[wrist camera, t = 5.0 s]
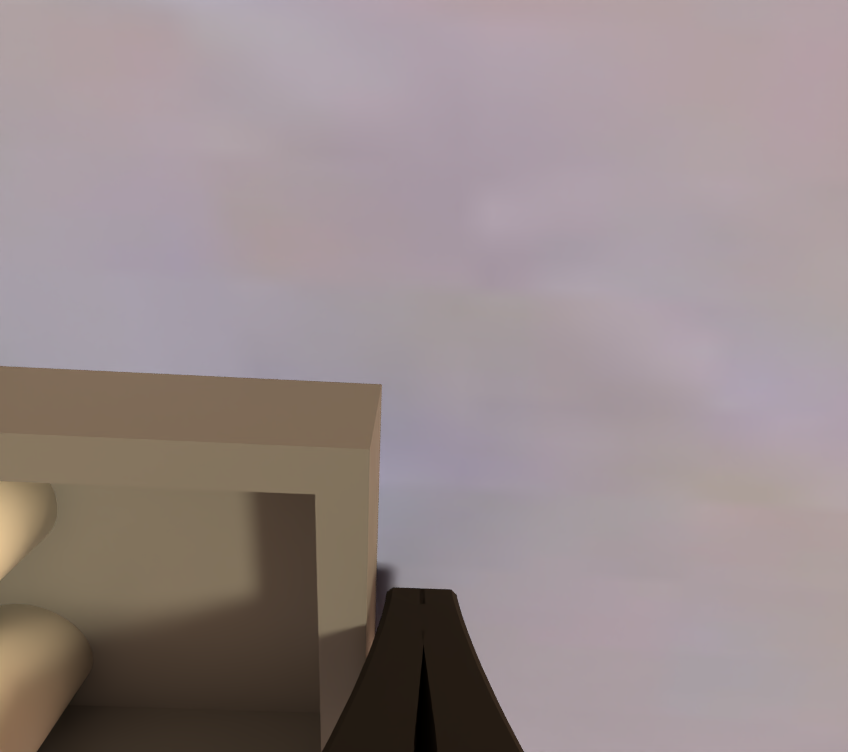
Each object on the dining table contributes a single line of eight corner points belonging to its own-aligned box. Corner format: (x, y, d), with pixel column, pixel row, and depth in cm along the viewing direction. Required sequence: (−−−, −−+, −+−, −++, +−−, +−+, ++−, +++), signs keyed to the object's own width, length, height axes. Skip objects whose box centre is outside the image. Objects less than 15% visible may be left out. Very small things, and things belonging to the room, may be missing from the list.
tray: (373, 713, 13) (360, 859, 10) (-74, 699, 13) (-212, 845, 10) (382, 382, 10) (367, 463, 7) (-215, 353, 10) (-477, 426, 7)
